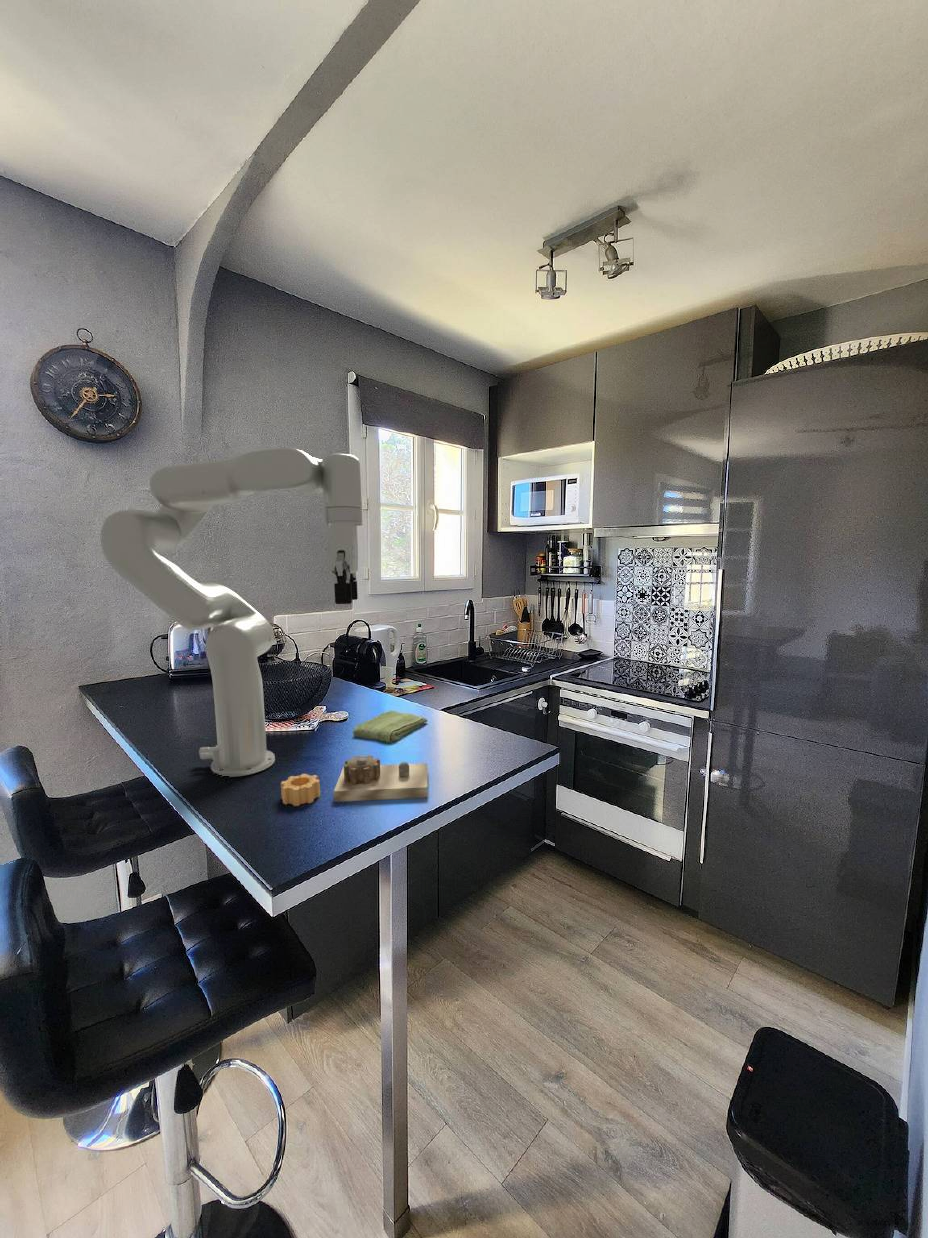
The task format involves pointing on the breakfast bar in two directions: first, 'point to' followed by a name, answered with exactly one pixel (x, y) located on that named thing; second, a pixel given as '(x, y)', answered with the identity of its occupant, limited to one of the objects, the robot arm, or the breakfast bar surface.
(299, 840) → the breakfast bar surface
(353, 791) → the gear board
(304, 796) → the loose gear
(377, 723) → the washcloth
